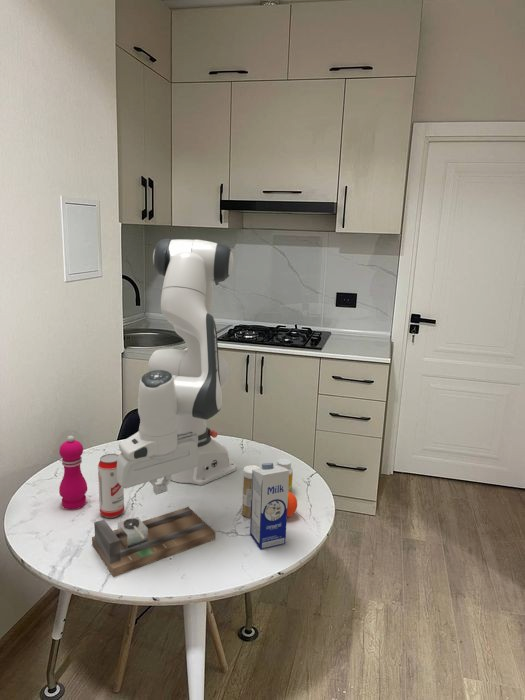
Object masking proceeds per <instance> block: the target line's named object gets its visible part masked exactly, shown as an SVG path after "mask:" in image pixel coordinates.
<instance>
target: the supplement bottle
mask: <svg viewBox="0 0 525 700" xmlns="http://www.w3.org/2000/svg"><path fill="white" fill-rule="evenodd" d="M277 465H278V466H281V467H284V468H287V469H288V470H290V471H289V485H288V491H289V492H291V493H292V491H293V490H292V489H293V474H294V470H293V468H292V467H291V466H292V461H291V460H290V459H288V458H279V459H277V461H276V466H277Z"/></svg>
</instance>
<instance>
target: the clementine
mask: <svg viewBox="0 0 525 700" xmlns="http://www.w3.org/2000/svg"><path fill="white" fill-rule="evenodd" d="M297 509H298V500H297V497H296V496H295V494H294V493H292V491H291V492H289V491H288V503H287V518H290V517H291V516H293V515H294V514H295V513H296V511H297Z"/></svg>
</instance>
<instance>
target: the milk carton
mask: <svg viewBox="0 0 525 700" xmlns="http://www.w3.org/2000/svg"><path fill="white" fill-rule="evenodd" d="M289 471H290V470H288V469H287V468H284V467H281V466H278V465H277V464H276V465H274V463H273V462H266V463H262V464H261V468H260V467H259V469H252V492H251V517H250V524H249V525H250V527H249V535H250V537H251V539H253V541H254V542H255V544H256V545H257V547H258V548H259V550H264V549H269V548H273V547H277V546H282V545H286V542H287V541H286V540H287V537H286V536H287V535H286V534H287V522H288V521H287V520H288V517H287V503H288V485H289Z"/></svg>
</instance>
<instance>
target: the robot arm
mask: <svg viewBox="0 0 525 700" xmlns="http://www.w3.org/2000/svg"><path fill="white" fill-rule="evenodd" d="M234 260H235V259H234V255H233V252H232V248H231V247H230V245H227V244H225V243H222V242H213V241H210V240H209V241H208V240H205V239H204V240H203V239H196V238H195V239H184V238H183V239H182V238H181V239H180V238H179V239H173V238H162V239H160V240H159V241H158V242H157V243H156V244H155V248H154V249H153V254H152V262H153V267H154V270H155V271H156V272H157V274H159V275H161V276H163V277H164V278H163V279H164V280H163V284H162V288H161V289H162V290H161V297H160V311H161V313H162V315H163V317H164V319H165V320H166V321H167V322H168V323H169V324H171V325H172V327H173V330H174V332H175V333H176V334H177V335H178V336H179V337H180V338H182V339H183V341H184V342H185V344H186V348H187V350H185V349H180V348H179V349H178V348H159V349H156V350H154V352H153V353H152V354H151V356H150V357H149V359H148V364H147V371H148V372H146V373H144V374H143V375H142V376H141V377H140V380H139V384H138V391H137V392H138V393H137V394H138V395H137V413H138V416H139V419H140V420H139V422H140V423H139V425H138V426H139V427H138V431H137V432H135V433H134V434H132V435H130V436H129V437H127V438H126V439H124V440H122V441H120V442H119V444H118V448H119V451H120V452H121V453H120V454H118V455H119V457H118V460H117V470H116V475H117V481H118V483H119V484H120V485H121V486H122V487H123V488H124V490H125V489H129V488H132V487H135V486H139V485H144V484H146V483H148V482H149V483H150V484H151V486H152V489H153V494H155V496H156V495H160V494H163V493H166V492H168V485H169V484H170V482H171V481H173V482H176V483H181V484H194V485H198V486H202V485H206V484H208V483H210V482H212V481H215V480H217V479H220V478H222V477H224V476H226V475H228V474H231V473H233V472H235V471H237V465H236V463H235V462H234V461H233V460H232V459H231V458H230V457H229V452H228V450H227V449H226V447H224V445H222V444H221V443H220V442H218V441H217V440H215V438H217V437H218V434H219V433H218V432H217V431H216V430H214V429H212V430H211V428H209V427H208V426H207V420H209V419H211V418H212V417H214V416H215V415H217V414H218V413H219V412H220V411H221V408H222V405H223V392H222V389H223V388H224V387H225V386H226V385H227V383H228V381H229V378H230V372H231V371H230V367H229V364H228V362H227V360H226V359H225V358H224V357H223V356H222V355H221V354H220V352H219V345H218V344H219V342H218V333H217V326H216V325H217V324H216V321H215V318H214V316H213V308H214V283H215V286H218V285H219V283H221V282H223V281H224V282H225V281H226V280H227V279H228V278H229V277H230V274H231V273H232V271H233V269H234V263H235V262H234ZM213 282H214V283H213ZM162 478H163V479H162ZM158 479H162V480H161V483H158ZM156 483H157V484H156Z"/></svg>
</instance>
